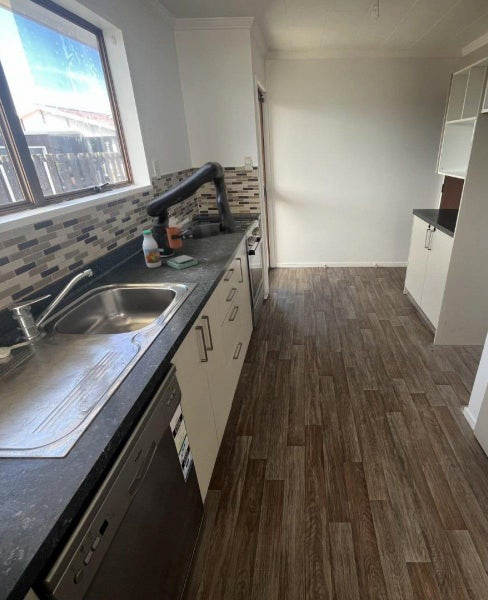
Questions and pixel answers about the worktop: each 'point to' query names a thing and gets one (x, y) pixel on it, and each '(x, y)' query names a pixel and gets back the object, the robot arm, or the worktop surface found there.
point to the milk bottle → (151, 250)
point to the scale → (182, 264)
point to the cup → (176, 242)
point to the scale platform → (181, 259)
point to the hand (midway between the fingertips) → (169, 236)
